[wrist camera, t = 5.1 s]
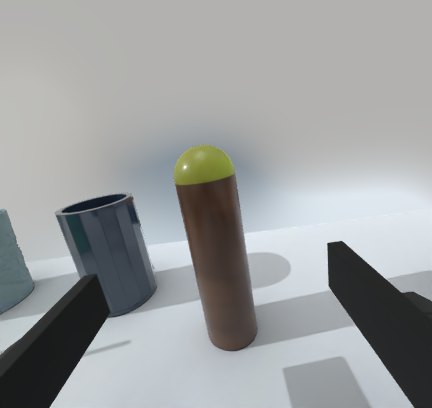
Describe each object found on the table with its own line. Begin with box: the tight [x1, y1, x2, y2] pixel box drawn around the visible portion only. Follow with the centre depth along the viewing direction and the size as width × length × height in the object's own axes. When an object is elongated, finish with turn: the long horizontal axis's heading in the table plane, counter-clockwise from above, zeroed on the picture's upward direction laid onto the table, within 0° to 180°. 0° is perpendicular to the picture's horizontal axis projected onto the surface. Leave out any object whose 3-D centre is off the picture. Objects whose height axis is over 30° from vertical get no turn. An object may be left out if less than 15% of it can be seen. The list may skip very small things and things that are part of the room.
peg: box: [174, 145, 257, 351], centre depth 18 cm, size 4×4×16 cm
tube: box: [55, 193, 157, 317], centre depth 26 cm, size 8×8×12 cm
